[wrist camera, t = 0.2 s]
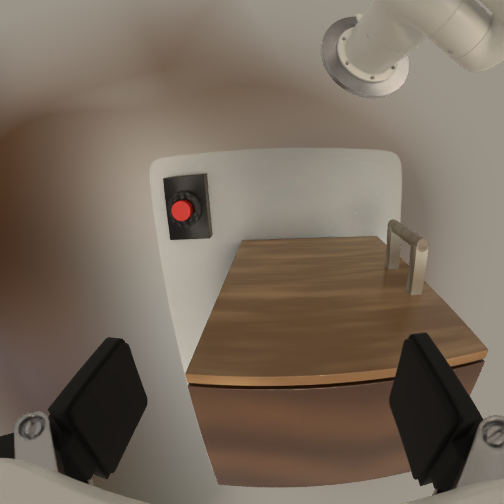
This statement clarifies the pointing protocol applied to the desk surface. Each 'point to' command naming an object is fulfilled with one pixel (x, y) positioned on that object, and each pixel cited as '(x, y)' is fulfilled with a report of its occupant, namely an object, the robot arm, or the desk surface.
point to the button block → (197, 195)
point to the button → (182, 210)
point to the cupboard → (304, 431)
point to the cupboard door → (325, 313)
